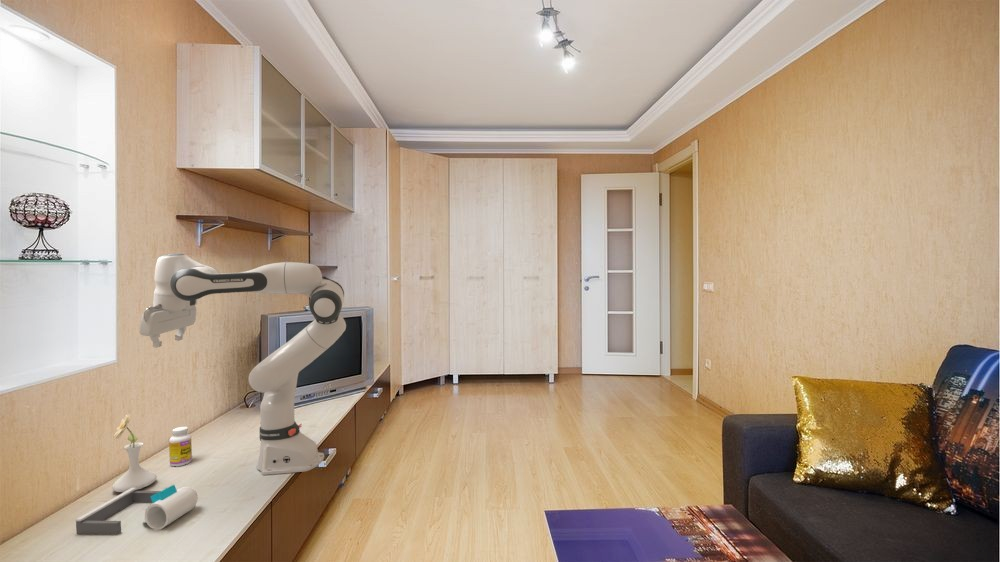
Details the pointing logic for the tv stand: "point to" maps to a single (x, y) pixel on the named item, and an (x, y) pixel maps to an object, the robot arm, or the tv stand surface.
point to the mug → (169, 506)
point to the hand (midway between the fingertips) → (168, 343)
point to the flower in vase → (132, 464)
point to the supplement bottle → (180, 447)
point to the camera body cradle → (110, 513)
